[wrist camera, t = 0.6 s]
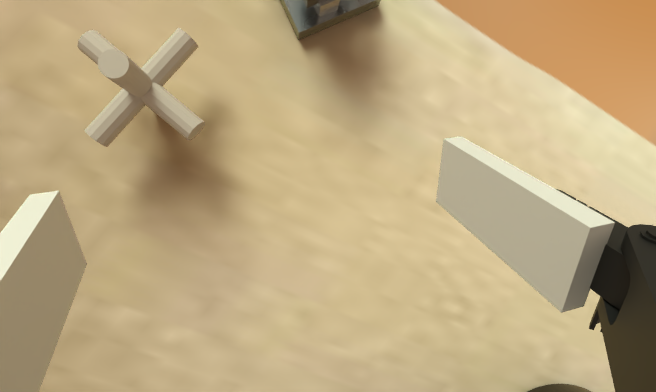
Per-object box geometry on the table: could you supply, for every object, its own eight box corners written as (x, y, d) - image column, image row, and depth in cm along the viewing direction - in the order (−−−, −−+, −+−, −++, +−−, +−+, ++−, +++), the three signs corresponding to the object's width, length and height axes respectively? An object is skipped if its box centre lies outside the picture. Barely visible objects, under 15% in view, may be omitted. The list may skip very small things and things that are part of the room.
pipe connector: (157, 22, 34) (104, -52, 24) (247, 99, 35) (231, 57, 25) (77, 109, 34) (-12, 69, 24) (170, 185, 34) (122, 179, 24)
